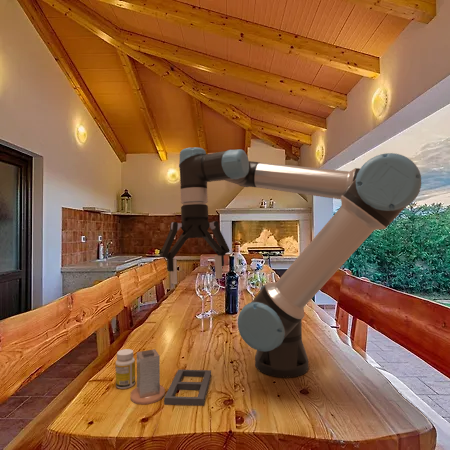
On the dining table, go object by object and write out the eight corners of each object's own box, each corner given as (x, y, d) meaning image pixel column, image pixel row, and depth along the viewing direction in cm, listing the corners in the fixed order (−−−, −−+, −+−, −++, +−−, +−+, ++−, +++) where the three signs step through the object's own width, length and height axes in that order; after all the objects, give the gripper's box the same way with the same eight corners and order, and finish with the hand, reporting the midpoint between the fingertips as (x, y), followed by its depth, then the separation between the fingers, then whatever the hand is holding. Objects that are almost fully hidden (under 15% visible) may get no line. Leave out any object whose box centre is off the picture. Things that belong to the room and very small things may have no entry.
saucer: (168, 387, 79) (168, 384, 79) (159, 404, 71) (159, 401, 71) (137, 386, 80) (137, 383, 80) (125, 403, 72) (125, 400, 72)
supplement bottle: (128, 378, 84) (128, 346, 85) (138, 383, 81) (138, 351, 82) (111, 385, 81) (111, 352, 81) (122, 391, 78) (122, 357, 78)
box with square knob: (155, 385, 79) (155, 347, 79) (159, 393, 75) (159, 353, 75) (136, 389, 77) (136, 350, 77) (140, 398, 73) (140, 357, 73)
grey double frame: (211, 375, 85) (211, 370, 85) (203, 405, 71) (203, 399, 71) (178, 375, 86) (178, 369, 86) (164, 404, 72) (164, 397, 72)
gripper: (226, 206, 98) (229, 275, 97) (146, 205, 86) (149, 284, 85) (239, 203, 91) (242, 277, 91) (154, 202, 79) (157, 287, 78)
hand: (197, 280), depth 88 cm, fingers open, 13 cm apart
